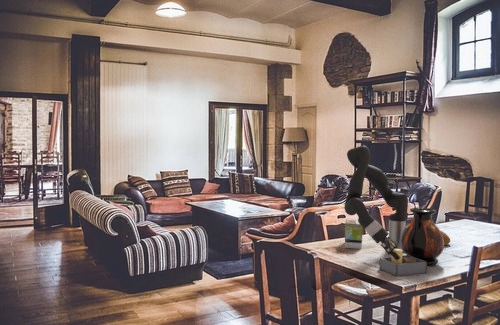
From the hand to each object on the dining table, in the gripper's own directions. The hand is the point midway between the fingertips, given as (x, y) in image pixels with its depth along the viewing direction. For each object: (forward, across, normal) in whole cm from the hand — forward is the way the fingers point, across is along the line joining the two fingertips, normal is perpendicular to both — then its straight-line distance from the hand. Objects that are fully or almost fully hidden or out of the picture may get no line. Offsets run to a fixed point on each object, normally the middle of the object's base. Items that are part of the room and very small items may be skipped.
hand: (399, 257), depth 226 cm
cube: (+8, +5, +2) cm, 9 cm away
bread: (+8, +76, +3) cm, 77 cm away
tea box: (-18, +44, +28) cm, 56 cm away
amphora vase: (+11, +24, 0) cm, 26 cm away
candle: (+4, 0, +6) cm, 7 cm away
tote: (+6, +2, +4) cm, 8 cm away
